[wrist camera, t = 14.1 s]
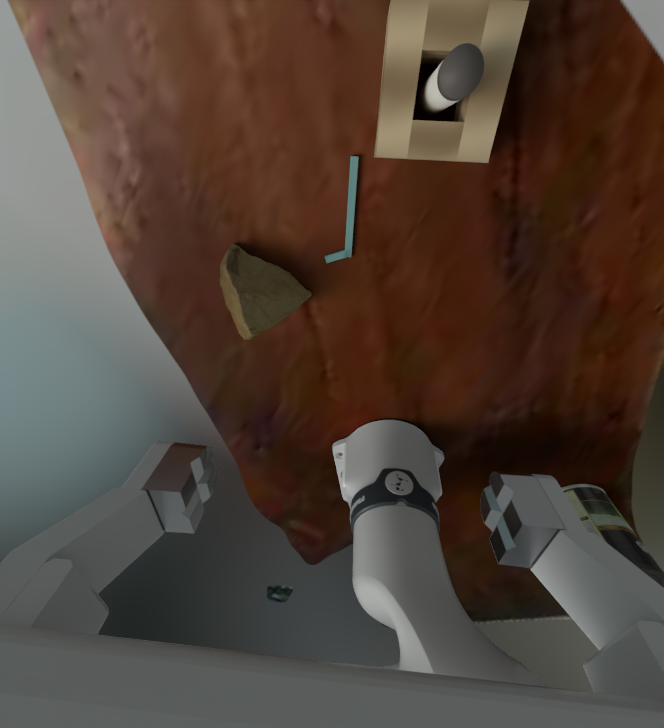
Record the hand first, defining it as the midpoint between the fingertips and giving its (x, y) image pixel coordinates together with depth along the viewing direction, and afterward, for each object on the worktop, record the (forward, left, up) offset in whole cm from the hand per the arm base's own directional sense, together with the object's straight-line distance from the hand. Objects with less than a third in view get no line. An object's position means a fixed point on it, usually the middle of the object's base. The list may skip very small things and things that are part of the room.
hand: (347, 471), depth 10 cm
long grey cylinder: (+13, -6, -33) cm, 36 cm away
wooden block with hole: (+13, -6, -33) cm, 36 cm away
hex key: (+3, +2, -33) cm, 33 cm away
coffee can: (-43, -43, -33) cm, 69 cm away
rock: (-5, +11, -33) cm, 36 cm away
